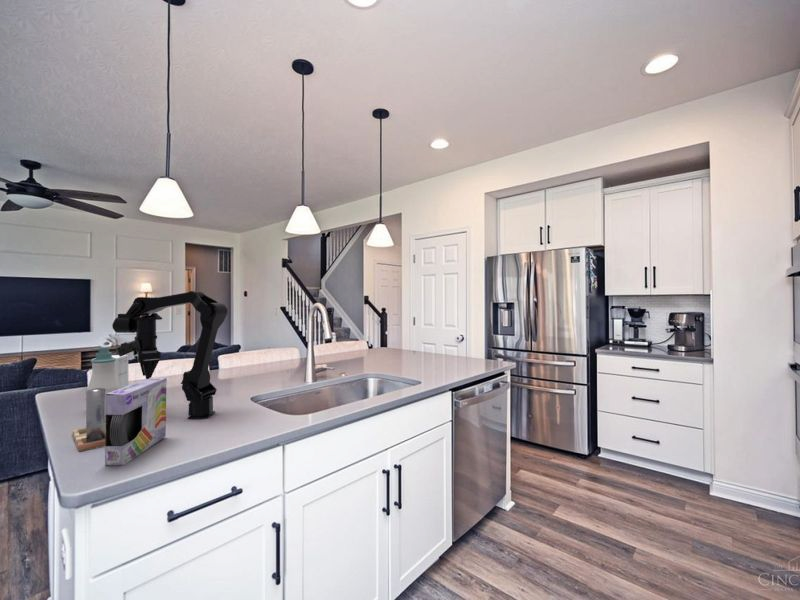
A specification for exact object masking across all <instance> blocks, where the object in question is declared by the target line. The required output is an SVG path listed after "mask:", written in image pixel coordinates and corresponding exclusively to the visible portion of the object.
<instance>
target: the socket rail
mask: <svg viewBox="0 0 800 600" xmlns="http://www.w3.org/2000/svg"><path fill="white" fill-rule="evenodd" d="M72 437H73V440H74V442H75V445H76V447H77V451H78V450H79V451H81V452H84V451H83V450H85V451H88V450H87V449H89V450H92V449H91V448H94V449H97V448H96V447H98V448H101V446H103V447H105V439H103V440H99V441H94V442H89V443H86V426H85V427H80V428H75V429H72ZM79 451H78V452H79Z"/></svg>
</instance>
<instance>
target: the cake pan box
mask: <svg viewBox="0 0 800 600" xmlns="http://www.w3.org/2000/svg"><path fill="white" fill-rule="evenodd" d="M167 381H168V380H167V377H157V376H156V377H154V376H152V377H151V378H149V379H147V380H146V379H144V380H140V381H139V382H134V383H130V384H128V386H125V387H124V388H121V389H118V390H115V391H112V392H109V393H107V394H106V395H105V446H104V466H105V465H114V466H124V465H125V464H127V463H129V462H130V461H131V460H133V459H134V458H136V457H137V456H139V455H141V454H142V453H144V452H145V451H146V450H148V449H149V448H151V447H152V446H153V445H155V444H157V443H158V442H159V441H161V440H162V439H164V438H165V437H166V435H167V433H166V431H167V429H166V428H167V384H168V383H167Z"/></svg>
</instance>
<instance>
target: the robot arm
mask: <svg viewBox="0 0 800 600" xmlns="http://www.w3.org/2000/svg"><path fill="white" fill-rule="evenodd" d="M189 304H190V305H192V306H193V308H194V309H195V310H196V311H197V312H198V313H199V322H200V324H201V330H200V331H201V332H200V334H199V335H200V336H199V340H198V343H197V347H196V352H195V357H194V359H193V364H192V366H191V369H190V370H188V371H184V372H183V375H182V381H181V382H180V385H182V386H181V389H182V392H184V396H185V398H186V401H188V402H189V403H188V416H187V419H189V420H190V419H208V418H209V417H211V416H213V415H214V414H215V413H216V411H215V410H214V396H215V395H216V393H217V391H218V389H217V388H216V386H214V385H213V384H212V383H211V374H210V371H209V367H210V362H211V358H212V355H213V350H214V347H215V346H214V345H215V342H216V337H217V334H218V330H219V328H220V327H221V326H222V324H224V322H225V320H226V317H227V315H228V312H229V311H228V307H227V306H226V305H225V304H224V303H222V302H218V301H217V300H215V299H214V298H211V297H210V296H208V295H206V294H205V293H204V292H202V291H200V290H199V291H198V290H190V291H188V292H183V293H177V294H175V293H174V294H171V295H166V296H165V295H164V296H159V297H158V296H157V297H156V296H154V297H152V296H151V297H150V296H147V297H146V296H139V297H135V298H134V299H133V301H132V304H131V306H130V307H129V308H128V310H127V312H125V313H117V317H115V319H114V320H113V322H112V325H111V326H112V329H113V330H114V332H116V333H119V334H123V333H124V334H134V333H135V336H134V339H133V340H132V341H128V342H126V341H124V342H123V343H120V345H117V346H115V348H114V349H115V350H116V352H117V355H119V356H124V355H128V354H130V353H132V356H133V357H134V359H136V360H137V362H138V363H139V366H140V369H141V373H142V376H143V377H144V376H145V380H147V379H149V378H151V377H153V374H154V372H155V370H156V369H157V366H158V364H159V362H160V361H161V359H162V354H161V353H162V352H160V351H159V350H158V347H157V339H158V335H157V321H161V320H162V319H163V317H162V316H161V315H159V314H158V312H160V311H163V310H164V309H166V308H171V307H176V306H182V305H183V306H184V305H189Z"/></svg>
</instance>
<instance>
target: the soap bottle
mask: <svg viewBox="0 0 800 600" xmlns="http://www.w3.org/2000/svg"><path fill="white" fill-rule="evenodd" d="M90 351H98V352H96V353H95V359H94V358H93V359H94V360H92V359H91V360H90V363H91V375H90V376H91V377H90V380H89V382H88V386H87V390H89V389H95V388H105V395H106V394H107V393H109V392H112V391H115V390H118V389H120V384H119V381H118V378H117V375H116V371H115V360H116V358H114V357H112V355H113V353H112V352H111V351H110V347H108V346H107V347H105V346H103V347H95V348H91V349H90Z"/></svg>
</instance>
